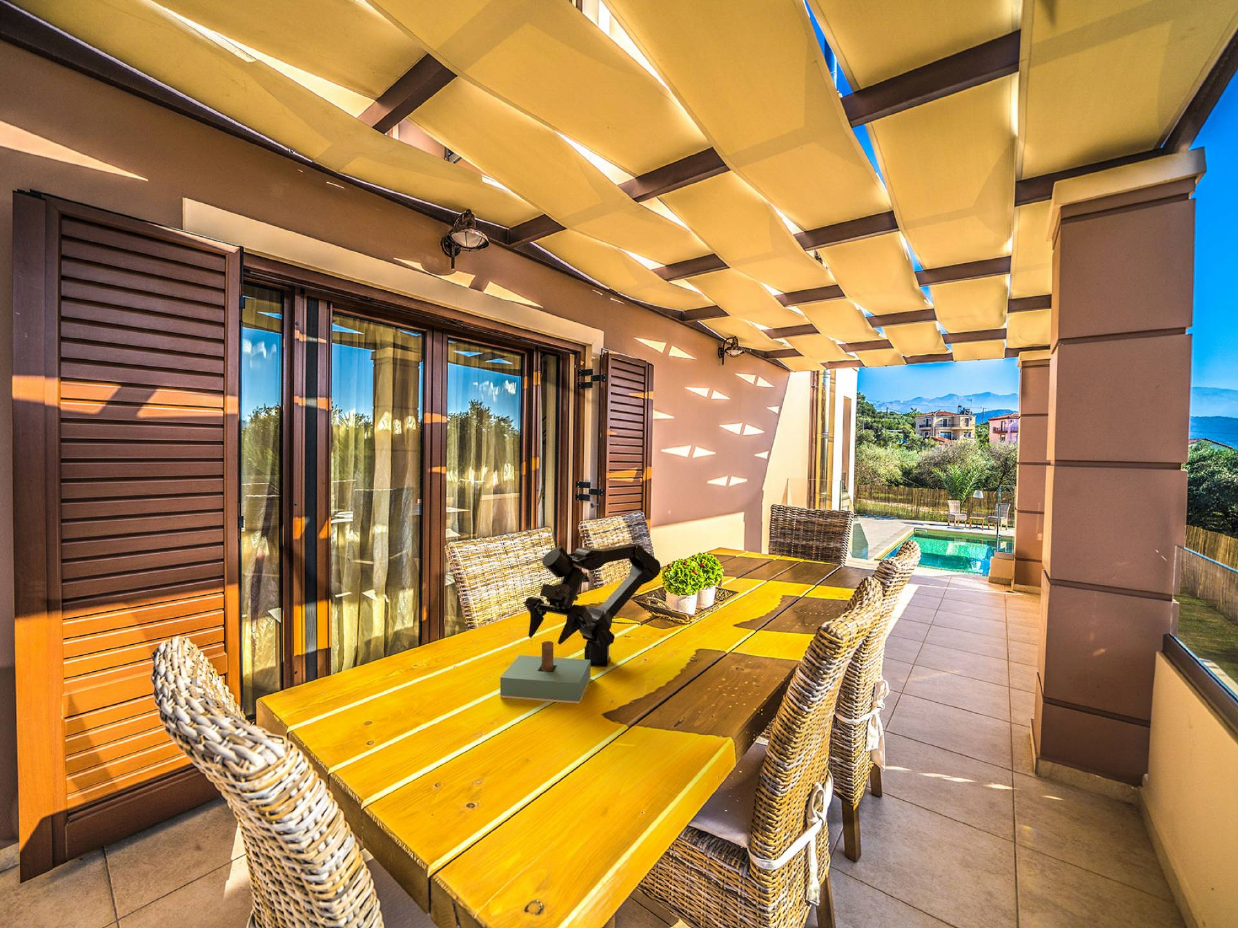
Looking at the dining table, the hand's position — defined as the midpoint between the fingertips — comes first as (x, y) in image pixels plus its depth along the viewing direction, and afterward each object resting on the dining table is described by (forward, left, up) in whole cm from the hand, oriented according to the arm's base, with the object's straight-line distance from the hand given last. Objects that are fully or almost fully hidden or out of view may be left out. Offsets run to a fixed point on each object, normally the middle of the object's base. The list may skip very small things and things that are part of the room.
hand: (544, 640), depth 129 cm
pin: (0, -1, -12) cm, 12 cm away
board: (0, -1, -13) cm, 13 cm away
